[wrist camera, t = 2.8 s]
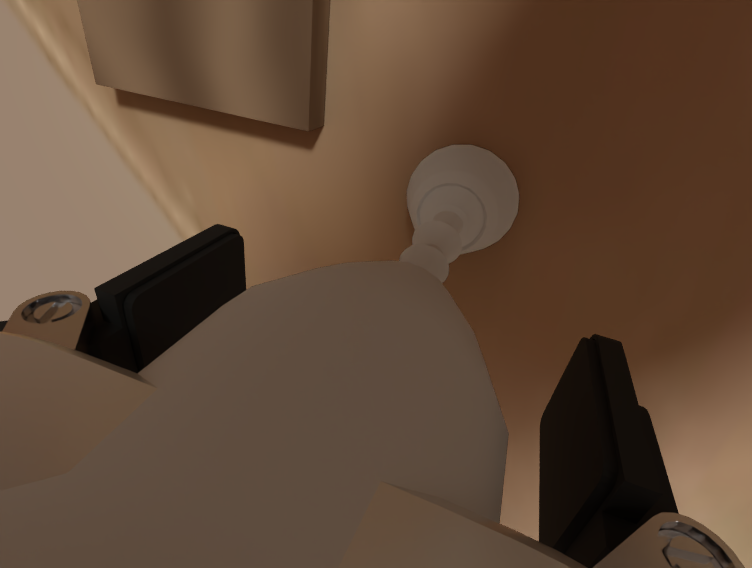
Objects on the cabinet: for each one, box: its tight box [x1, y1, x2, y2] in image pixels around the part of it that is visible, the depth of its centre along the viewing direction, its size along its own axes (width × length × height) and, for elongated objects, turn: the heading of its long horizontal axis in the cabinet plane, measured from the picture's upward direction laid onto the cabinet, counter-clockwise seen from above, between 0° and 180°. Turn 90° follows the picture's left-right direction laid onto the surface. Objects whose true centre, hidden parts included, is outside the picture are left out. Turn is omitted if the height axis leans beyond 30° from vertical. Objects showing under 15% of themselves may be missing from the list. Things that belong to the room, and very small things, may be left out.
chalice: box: [0, 145, 519, 568], centre depth 11 cm, size 7×7×18 cm
